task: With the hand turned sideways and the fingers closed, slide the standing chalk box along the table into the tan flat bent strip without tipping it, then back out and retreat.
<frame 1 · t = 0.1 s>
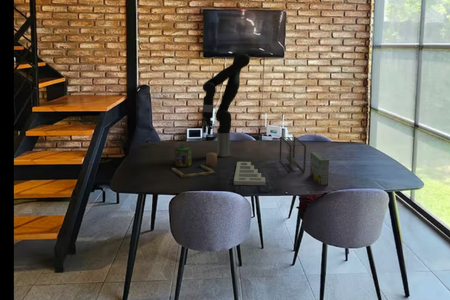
hand: (206, 133, 315), 17 cm above the table, tool pointing down, fingers open, 8 cm apart
wooden block: (211, 165, 297), on the table
chalk box: (183, 165, 297), on the table
snack box: (318, 180, 264), on the table
newton's cradle: (291, 166, 295), on the table
tan flat bent strip: (193, 171, 281), on the table
holder: (250, 175, 276), on the table
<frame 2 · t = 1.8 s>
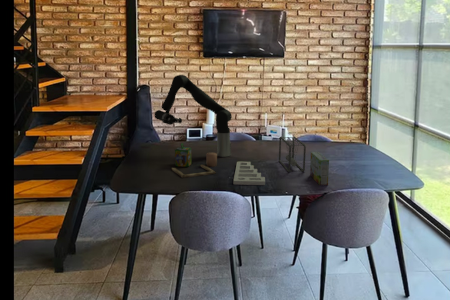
hand: (176, 122, 309), 26 cm above the table, tool horizontal, fingers open, 6 cm apart
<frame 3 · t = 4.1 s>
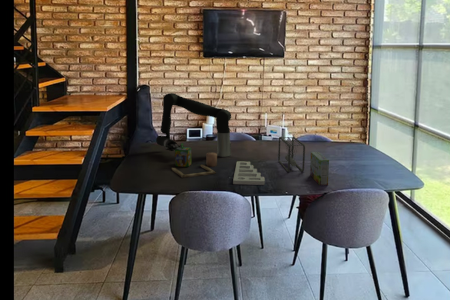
hand: (178, 149, 304), 8 cm above the table, tool horizontal, fingers closed
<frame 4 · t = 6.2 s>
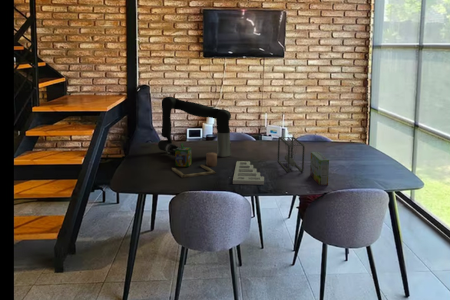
hand: (180, 154, 301), 6 cm above the table, tool horizontal, fingers closed
chalk box: (183, 165, 297), on the table, touching gripper
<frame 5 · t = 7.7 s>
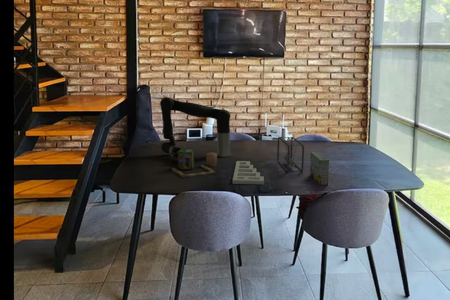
hand: (184, 156, 294), 6 cm above the table, tool horizontal, fingers closed
chalk box: (186, 168, 290), on the table, touching gripper
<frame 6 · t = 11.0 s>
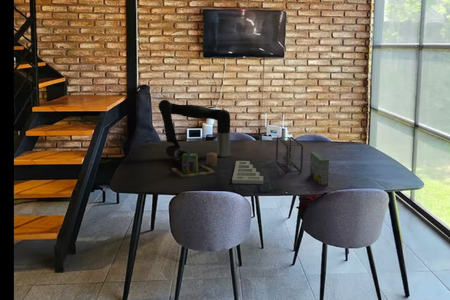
hand: (190, 160, 284), 6 cm above the table, tool horizontal, fingers closed
chalk box: (190, 172, 280), on the table
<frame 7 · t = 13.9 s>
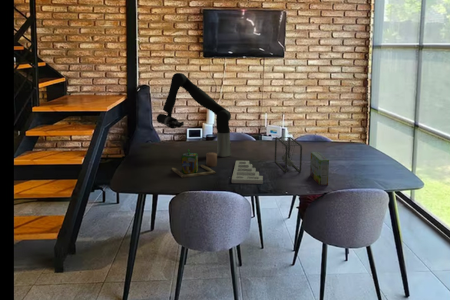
hand: (179, 125, 297), 26 cm above the table, tool horizontal, fingers closed
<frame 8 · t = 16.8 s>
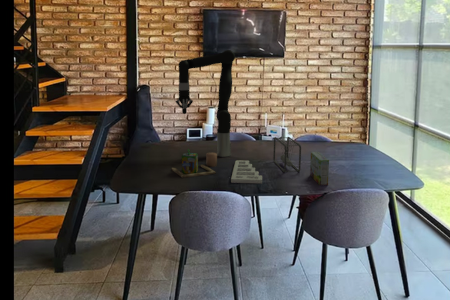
hand: (184, 113, 316), 31 cm above the table, tool pointing down, fingers closed
at the end: chalk box inside the target area (2.2 cm from its centre), on the table; chalk box tilted 0° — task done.
